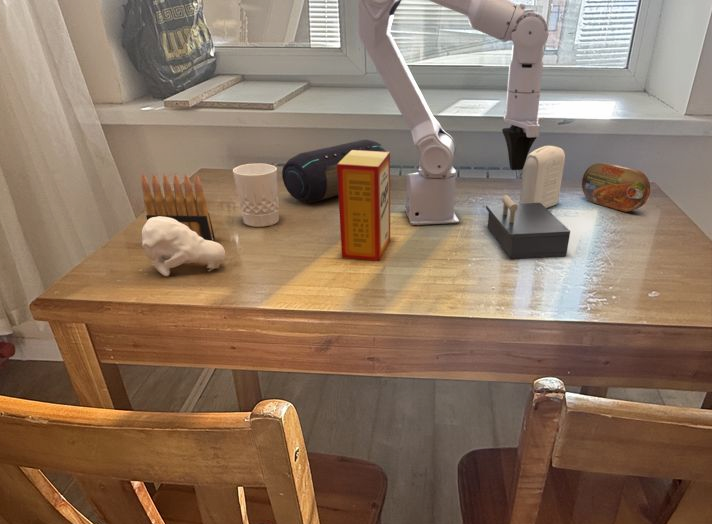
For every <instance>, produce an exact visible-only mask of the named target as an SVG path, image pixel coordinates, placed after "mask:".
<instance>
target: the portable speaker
mask: <svg viewBox="0 0 712 524" xmlns="http://www.w3.org/2000/svg"><path fill="white" fill-rule="evenodd" d="M351 150H364V151H380V152H387V151H386V150H385V148H384V147H383V146H382V144H381V143H379V142H377V141H375V140H373V139H372V140H371V139H360V140H356V141H349V142H346V143H342V144H341V143H340V144H338V145H333V146H328V147H322V148H318V149H314V150H310V151H305V152H300V153H298V154H297V155H295V156H293V157H291V158H290V159H288V160H287V161H286V162H285V164H284V165H283V167H282V170H281V178H282V181H283V185H284V187H285V188H286V190H287V192H288V193H289V195H290V196H291V197H292V198H293V199H295V200H296V201H299V202H302V203H314V202H319V201H323V200H327V199H329V198H334V197H337V196H339V195H338V177H337V164H338V163H339V162H340V161H341V160H342V159H343V158H344V157H345V156H346V155H347V154H348V153H349V152H350V151H351Z"/></svg>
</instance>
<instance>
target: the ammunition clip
mask: <svg viewBox="0 0 712 524" xmlns="http://www.w3.org/2000/svg"><path fill="white" fill-rule="evenodd" d="M193 179H194V180H193V183H194V191H193V186H192V183H191V180H190V178H189V176H188V175H187V173H185V174H184V176H183V188H184V192H183V189H182V184H181V181H180V180H179V177H178V175H177V174H176V173H174V174H173V179H172V183H173V190H174V192H173V190H172V185H171V183H170V180H169V178H168V176H167V175H166V173H163V175H162V187H163V192H162V188H161V186H160V182H159V180H158V177H157V176H156V174H155V173H152V175H151V185H152V190H151V188H150V183H149V181H148V178H147V176H146V175H145V174H144V173H141V177H140V180H141V181H140V183H141V184H140V185H141V189H142V195H143V197H142V198H143V203H144V208H145V212H146V221H147V220H148V219H150V218H152V217H158V216H162V217H169V218H173V219H175V220H177V221H178V222H180V223H182V224H184V225H186V226H187V227H189V229H190V230H192V231H194V232H196V233H197V234H198V236H200V237H202V238H203V239H204V240H210V241H214V242H215V240H216V237H215V232H214V228H213V224H212V220H211V215H210V212H209V209H208V204H207V199H206V196H205V193H204V190H203V185H202V181H201V179H200V177H199V176H198V174H197V173H195V174H194V178H193ZM152 192H153V193H152ZM163 193H164V195H163ZM194 193H195V195H194Z"/></svg>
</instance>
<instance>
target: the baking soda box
mask: <svg viewBox="0 0 712 524" xmlns="http://www.w3.org/2000/svg"><path fill="white" fill-rule="evenodd" d="M337 177H338V195H337V196H338V209H339V210H338V211H339V212H338V213H339V231H340V246H341V247H340V248H341V259H352V260H366V261H375V262H377V261H378V262H380V261H381V259H382V257H383V255H384V253H385V251H386V250H387V247H388V245H389V244H390V241H391V152H390V151H386V152H380V151H364V150H351V151H350V152H349V153H348V154H347V155H346V156H345V157H344V158H343V159H342V160H341V161H340V162H339V163H338V164H337Z"/></svg>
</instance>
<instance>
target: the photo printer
mask: <svg viewBox="0 0 712 524" xmlns="http://www.w3.org/2000/svg"><path fill="white" fill-rule="evenodd" d="M565 162H566V154H565V151H564V149H563V148H561V147H559V146H555V145H544V146H540V147H539V148H538V147H537V149H534V150H533V151H532V152H529V153H528V155H527V158H526V161H525V164H524V167H523V170H522V175H521V176H522V177H521V183H520V184H521V185H520V194H519V201H518V204H522V203H541V204H542V205H543V206H544V207H545V208H546V209H548V208H551V207H553V206H556V205H557V204H558V203H559V200H560V193H561V188H562V187H561V186H562V180H563V174H564V168H565Z"/></svg>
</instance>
